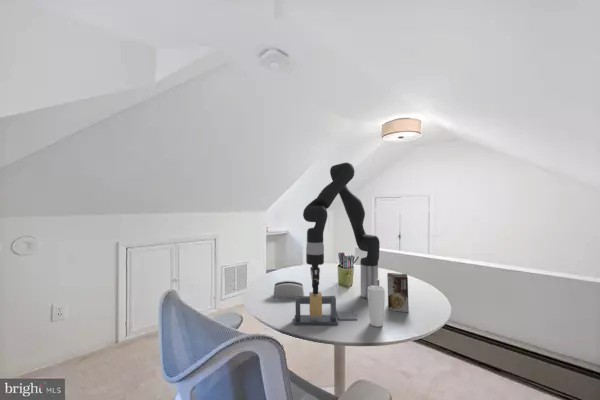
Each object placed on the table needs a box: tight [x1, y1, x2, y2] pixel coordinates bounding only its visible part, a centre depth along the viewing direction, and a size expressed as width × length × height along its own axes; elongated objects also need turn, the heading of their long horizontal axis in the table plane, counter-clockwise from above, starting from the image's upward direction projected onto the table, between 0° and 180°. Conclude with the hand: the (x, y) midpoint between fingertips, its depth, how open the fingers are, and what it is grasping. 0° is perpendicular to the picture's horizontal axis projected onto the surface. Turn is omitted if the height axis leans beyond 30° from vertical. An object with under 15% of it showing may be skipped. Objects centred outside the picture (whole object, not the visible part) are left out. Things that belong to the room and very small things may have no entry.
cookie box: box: [386, 272, 410, 313], centre depth 122 cm, size 9×6×16 cm
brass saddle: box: [308, 291, 323, 316], centre depth 109 cm, size 5×5×8 cm
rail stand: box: [293, 295, 339, 326], centre depth 109 cm, size 18×7×10 cm, turn 90°
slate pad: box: [336, 310, 358, 321], centre depth 114 cm, size 8×8×1 cm
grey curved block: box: [273, 280, 305, 299], centre depth 139 cm, size 17×5×10 cm, turn 89°
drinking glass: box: [367, 285, 386, 328], centre depth 106 cm, size 7×7×15 cm
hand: (315, 290), depth 110 cm, fingers open, 8 cm apart
